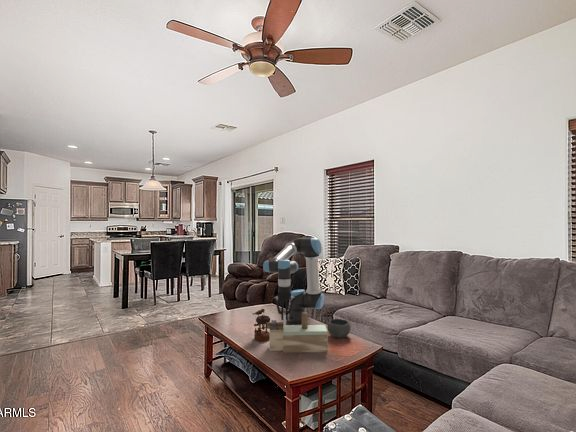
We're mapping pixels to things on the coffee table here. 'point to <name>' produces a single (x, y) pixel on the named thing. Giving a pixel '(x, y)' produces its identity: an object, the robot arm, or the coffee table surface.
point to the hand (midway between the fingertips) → (284, 325)
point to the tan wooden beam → (278, 325)
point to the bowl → (338, 328)
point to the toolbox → (296, 341)
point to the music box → (259, 334)
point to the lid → (305, 328)
